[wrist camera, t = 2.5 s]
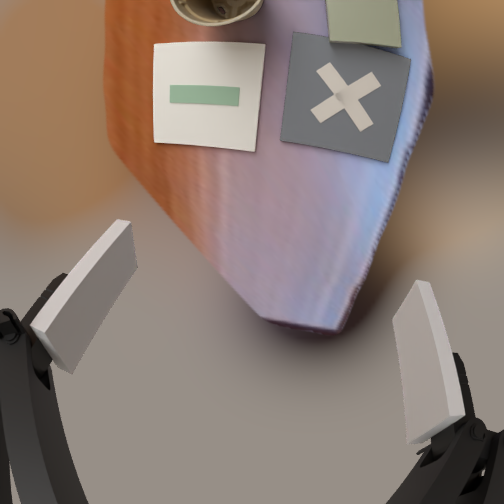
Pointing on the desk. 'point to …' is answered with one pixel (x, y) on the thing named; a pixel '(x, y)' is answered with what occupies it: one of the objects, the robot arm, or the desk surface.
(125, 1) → the desk surface
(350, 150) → the pad
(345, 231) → the desk surface
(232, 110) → the pad
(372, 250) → the desk surface
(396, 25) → the notebook
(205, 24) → the flower pot
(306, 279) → the desk surface
